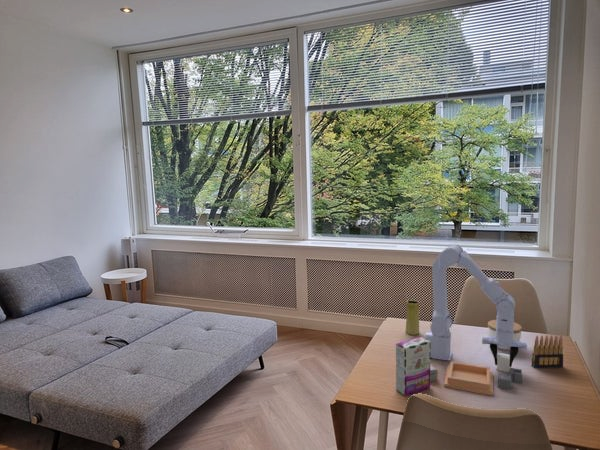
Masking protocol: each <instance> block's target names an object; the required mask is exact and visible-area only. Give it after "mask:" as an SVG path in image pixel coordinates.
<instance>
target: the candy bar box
mask: <svg viewBox="0 0 600 450" xmlns="http://www.w3.org/2000/svg"><path fill="white" fill-rule="evenodd" d="M430 348H431V341H429V340H426V338H425V337H421V336H419V337H415V338H412V339H408V340H404V341H400V342H398V343H397V342H396V343H395V377H396V378H395V386H396V387H395V390H396V391H397V392H399V393H400V394H402V395H403V396H404V397H407V396H410V395H413V394H415V393H419V392H421V391H424V390H427V389H430V388H431V381H430V365H431V358H430Z"/></svg>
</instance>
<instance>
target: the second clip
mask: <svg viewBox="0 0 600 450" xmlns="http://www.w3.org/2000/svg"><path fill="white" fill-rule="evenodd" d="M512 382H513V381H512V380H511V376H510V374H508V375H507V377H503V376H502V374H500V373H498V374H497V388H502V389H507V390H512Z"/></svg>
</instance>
